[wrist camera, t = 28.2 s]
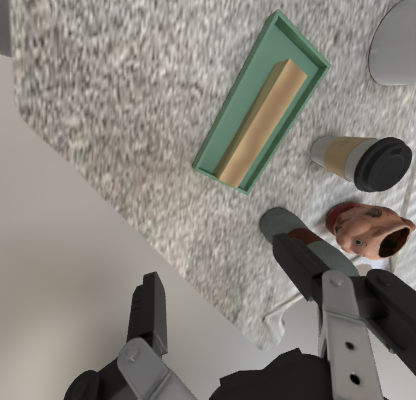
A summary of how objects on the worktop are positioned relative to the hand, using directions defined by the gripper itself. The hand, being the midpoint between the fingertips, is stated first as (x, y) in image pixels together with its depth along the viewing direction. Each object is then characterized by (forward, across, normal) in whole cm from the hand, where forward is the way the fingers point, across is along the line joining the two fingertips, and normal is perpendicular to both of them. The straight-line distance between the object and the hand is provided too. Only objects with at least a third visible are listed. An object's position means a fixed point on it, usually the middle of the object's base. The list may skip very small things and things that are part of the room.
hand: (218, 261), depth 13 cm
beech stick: (+27, -15, -2) cm, 31 cm away
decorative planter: (+28, -42, +27) cm, 57 cm away
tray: (+28, -16, -4) cm, 33 cm away
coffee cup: (+28, -32, +6) cm, 43 cm away
